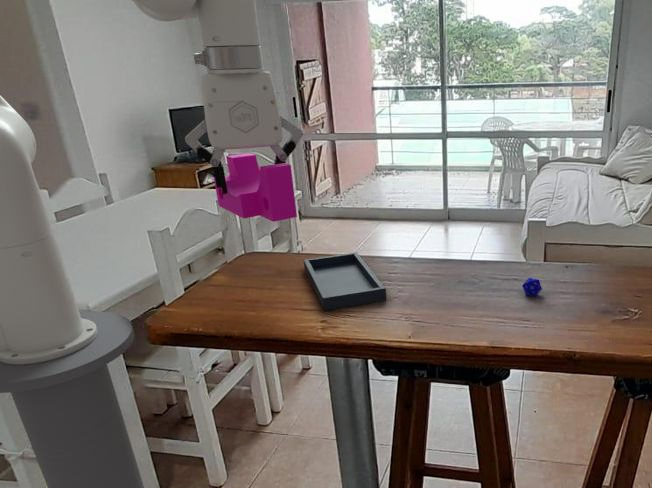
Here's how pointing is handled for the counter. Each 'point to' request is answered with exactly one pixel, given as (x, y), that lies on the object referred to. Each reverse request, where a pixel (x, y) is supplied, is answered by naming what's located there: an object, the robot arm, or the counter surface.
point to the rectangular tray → (343, 281)
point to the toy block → (258, 189)
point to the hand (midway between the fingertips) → (253, 189)
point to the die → (532, 287)
